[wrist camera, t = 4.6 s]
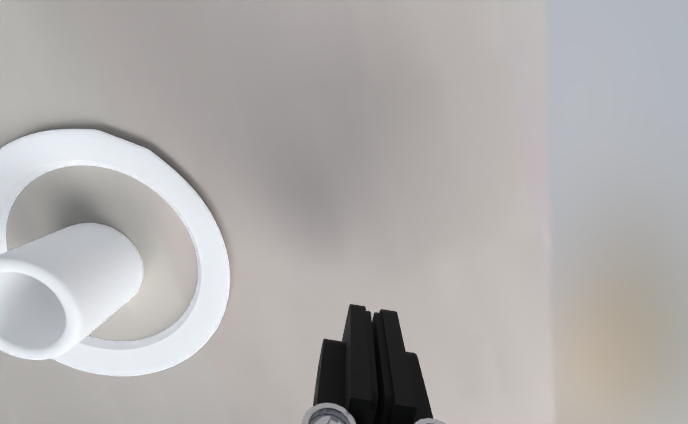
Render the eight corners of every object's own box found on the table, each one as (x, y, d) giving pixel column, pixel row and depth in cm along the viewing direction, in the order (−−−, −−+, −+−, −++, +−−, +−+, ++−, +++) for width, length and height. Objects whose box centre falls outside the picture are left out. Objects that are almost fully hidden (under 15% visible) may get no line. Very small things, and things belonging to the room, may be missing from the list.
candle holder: (127, 73, 14) (31, 56, 10) (282, 306, 17) (260, 370, 12) (-79, 209, 15) (-236, 244, 11) (93, 398, 18) (17, 481, 14)
